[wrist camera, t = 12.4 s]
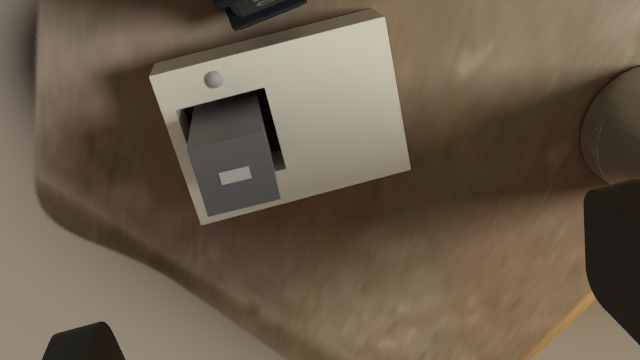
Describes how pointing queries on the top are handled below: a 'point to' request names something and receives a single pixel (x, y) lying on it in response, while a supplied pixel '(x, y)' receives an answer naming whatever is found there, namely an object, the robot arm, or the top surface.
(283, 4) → the magazine
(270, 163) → the grey rectangular block
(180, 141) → the switch board
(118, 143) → the top surface
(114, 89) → the top surface
